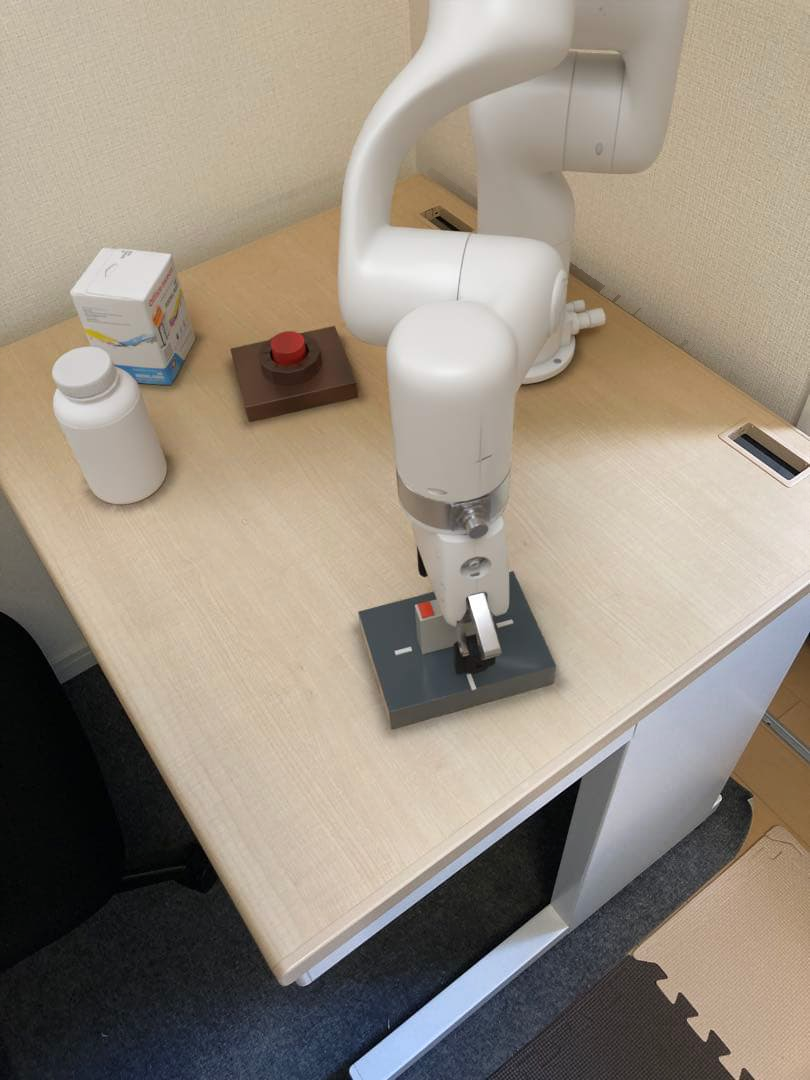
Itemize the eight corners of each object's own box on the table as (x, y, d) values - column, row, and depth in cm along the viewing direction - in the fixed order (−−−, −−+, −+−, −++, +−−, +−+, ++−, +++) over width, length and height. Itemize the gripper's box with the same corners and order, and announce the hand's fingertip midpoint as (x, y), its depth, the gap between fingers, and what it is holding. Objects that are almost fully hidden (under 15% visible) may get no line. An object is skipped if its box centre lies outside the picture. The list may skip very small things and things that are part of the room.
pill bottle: (99, 518, 89) (44, 405, 77) (83, 464, 94) (29, 350, 82) (177, 491, 91) (135, 377, 79) (158, 439, 96) (116, 325, 84)
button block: (336, 340, 104) (333, 312, 101) (358, 397, 98) (354, 369, 95) (233, 363, 103) (226, 335, 100) (248, 422, 97) (241, 394, 93)
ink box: (172, 387, 101) (143, 300, 91) (101, 380, 102) (65, 293, 93) (198, 337, 106) (173, 250, 97) (130, 331, 107) (99, 244, 98)
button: (302, 340, 99) (300, 328, 98) (309, 361, 97) (307, 348, 95) (270, 348, 98) (267, 335, 97) (276, 369, 96) (273, 356, 95)
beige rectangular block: (485, 620, 76) (487, 584, 72) (491, 636, 75) (493, 600, 71) (416, 638, 75) (414, 603, 71) (422, 654, 74) (420, 619, 70)
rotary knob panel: (511, 589, 82) (513, 568, 79) (553, 685, 75) (557, 665, 73) (360, 629, 80) (357, 609, 77) (391, 731, 74) (389, 712, 71)
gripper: (555, 564, 55) (537, 695, 69) (466, 379, 66) (465, 525, 79) (437, 595, 54) (443, 723, 68) (365, 403, 65) (382, 547, 78)
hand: (455, 616), depth 74 cm, fingers open, 9 cm apart
